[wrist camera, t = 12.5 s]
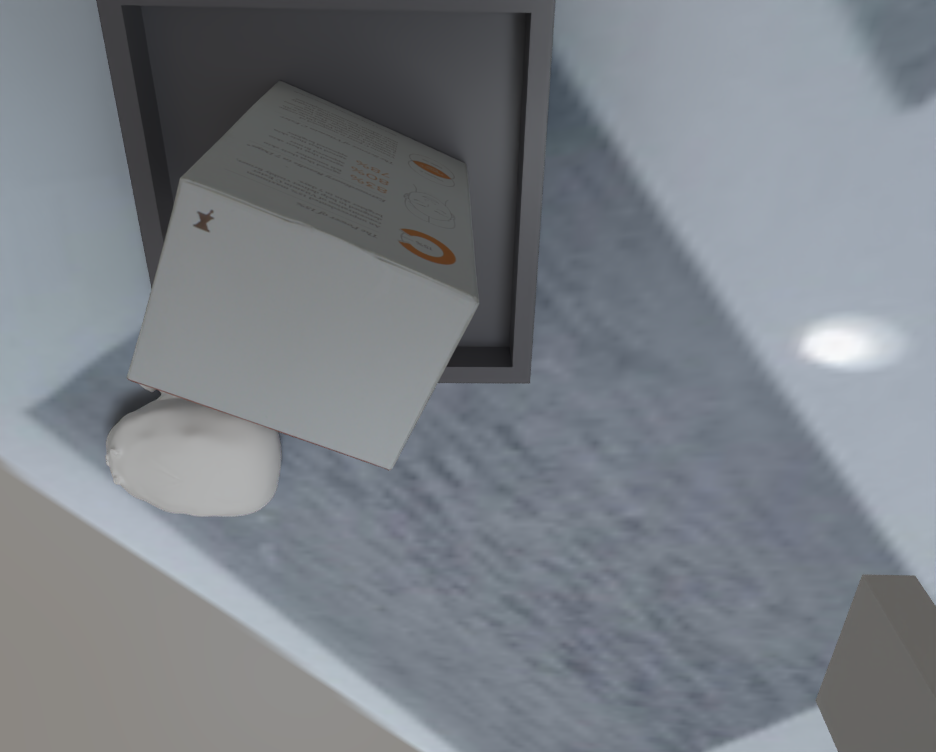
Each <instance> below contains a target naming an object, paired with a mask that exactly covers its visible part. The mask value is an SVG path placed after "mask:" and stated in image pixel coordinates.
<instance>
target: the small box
mask: <svg viewBox="0 0 936 752" xmlns="http://www.w3.org/2000/svg"><path fill="white" fill-rule="evenodd" d="M478 305H479V295H478V288H477V277H476V268H475V254H474V241H473V230H472V220H471V205H470V193H469V182H468V173H467V166H466V164H465V163H463V162H461V161H459V160H457V159H454V158H452V157H450V156H448V155H446V154H444V153H441V152H439V151H437V150H435V149H433V148H430V147H428V146H426V145H424V144H422V143H420V142H417V141H415V140H413V139H411V138H409V137H406V136H404V135H402V134H400V133H398V132H395V131H393V130H391V129H389V128H386V127H384V126H382V125H380V124H377V123H375V122H373V121H371V120H368V119H366V118H364V117H362V116H359V115H357V114H355V113H353V112H351V111H348V110H346V109H344V108H342V107H339V106H337V105H335V104H333V103H330V102H328V101H326V100H324V99H321V98H319V97H317V96H315V95H312V94H310V93H308V92H305V91H303V90H301V89H298V88H296V87H294V86H291V85H289V84H287V83H285V82H282V81H278V82H277V83H276V84H275V85H274V86H273V87H272V88H271V89H270V90H269V91H268V92H267V93H266V94H264V95H263V96H262V97H261V98H260V99H259V100H258V101H257V102H256V103H255V104H254V105H253V106H252V107H251V108H250V109H249V110H248V111H247V112H246V113H245V114H244V115H243V116H242V117H241V118H240V119H239V120H238V121H237V122H236V123H235V124H234V125H233V126H232V127H231V128H230V129H229V130H228V131H227V132H226V133H225V134H224V135H223V136H222V137H221V138H220V139H219V140H218V141H217V142H216V143H215V144H214V145H213V146H212V147H211V148H210V149H209V150H208V151H207V152H206V153H205V154H204V155H203V156H202V157H201V158H200V159H199V160H198V161H197V162H196V163H195V164H194V165H193V166H192V167H191V168H190V169H189V170H188V171H187V172H186V173H185V174H184V175H183V176H182V177H181V178H180V180H179V184H178V189H177V193H176V197H175V201H174V206H173V210H172V214H171V217H170V221H169V225H168V229H167V233H166V236H165V240H164V244H163V248H162V252H161V255H160V259H159V263H158V267H157V271H156V274H155V278H154V282H153V286H152V289H151V293H150V297H149V301H148V305H147V308H146V312H145V316H144V319H143V323H142V327H141V330H140V334H139V337H138V341H137V344H136V347H135V351H134V355H133V359H132V362H131V365H130V368H129V372H128V375H127V379H128V380H130V381H132V382H135V383H138V384H141V385H144V386H147V387H150V388H153V389H156V390H159V391H162V392H165V393H168V394H171V395H173V396H176V397H179V398H182V399H185V400H188V401H191V402H194V403H197V404H200V405H202V406H205V407H208V408H211V409H214V410H217V411H220V412H223V413H226V414H229V415H232V416H235V417H237V418H240V419H243V420H246V421H249V422H252V423H255V424H258V425H261V426H263V427H266V428H269V429H272V430H275V431H278V432H281V433H284V434H286V435H289V436H292V437H295V438H298V439H301V440H304V441H307V442H310V443H313V444H316V445H319V446H321V447H324V448H327V449H330V450H333V451H336V452H339V453H342V454H344V455H347V456H350V457H353V458H356V459H359V460H361V461H364V462H367V463H370V464H373V465H376V466H379V467H382V468H384V469H387V470H391V469H392V468H393V466H394V465H395V463H396V461H397V459H398V457H399V455H400V453H401V452H402V450H403V448H404V446H405V444H406V442H407V440H408V438H409V436H410V434H411V433H412V431H413V429H414V427H415V425H416V423H417V421H418V419H419V417H420V416H421V414H422V412H423V410H424V408H425V406H426V404H427V402H428V400H429V398H430V397H431V395H432V393H433V391H434V389H435V387H436V385H437V383H438V381H439V379H440V377H441V376H442V374H443V372H444V370H445V368H446V366H447V364H448V362H449V360H450V358H451V357H452V355H453V353H454V351H455V349H456V347H457V345H458V343H459V341H460V340H461V338H462V336H463V334H464V332H465V330H466V328H467V326H468V325H469V323H470V321H471V319H472V317H473V315H474V313H475V311H476V309H477V307H478Z"/></svg>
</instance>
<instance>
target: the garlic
mask: <svg viewBox="0 0 936 752" xmlns="http://www.w3.org/2000/svg"><path fill="white" fill-rule="evenodd" d="M140 386H142V387H143V388H144V389H146V390H149V391H151V392H154V391H155V390H156V389H153V388H150V387H147V386H144V385H141V384H140ZM160 392H161V396H160V397H159V398H158V399H157V400H155V401H152V402H150V403H149V404H147V405H145V406H143V407H141V408H140V409H138V410H136V411H134V412H131V413H128V414H127V415H125V416H124V417H123V418H122V419H121V420H120V421H119V422H118V423H117V424H116V425H115V426H114V427H113V428H112V429H111V431H110V432H109V434H108V437H107V441H106V449H107V455H106V460H107V461H106V464H107V465H108V466H110V470H111V473H112V476H113V481H114V483H115V484H116V485H121V486H122V487H123V488H124V489H125V490H126V491H127V492H128V493H129V494H131V495H132V496H133V497H135V498H138V499H141V500H143V501H146V502H148V503H150V504H152V505H153V506H155V507H157V508H159V509H161V510H164V511H166V512H170V513H183V514H189V515H193V516H201V517H205V516H224V517H234V516H242V515H247V514H250V513H253V512H256V511H258V510H260V509H261V508H263V507H264V506H265V505H266V504H267V503H268V502H269V501H270V500H271V499H272V498H273V496H274V495H275V493H276V490H277V486H278V480H279V475H280V468H281V443H280V438H279V434H278V431H275V430H272V429H269V428H266V427H263V426H261V425H258V424H255V423H252V422H249V421H246V420H243V419H240V418H237V417H235V416H232V415H229V414H226V413H223V412H220V411H217V410H214V409H211V408H208V407H205V406H202V405H200V404H197V403H194V402H191V401H188V400H185V399H182V398H179V397H176V396H173V395H171V394H168V393H165V392H162V391H160Z"/></svg>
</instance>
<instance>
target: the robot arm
mask: <svg viewBox="0 0 936 752" xmlns="http://www.w3.org/2000/svg"><path fill="white" fill-rule="evenodd" d="M816 702H817V705H818V707H819V709H820V711H821V714H822V716H823V718H824V721H825V723H826V725H827V727H828V730H829V732H830V734H831V736H832V739H833V741H834V743H835V746H836V748H837V750H838V752H936V606H935V605H934V603H933V602H932V600H931V599H930V597H929V596H928V594H927V593H926V591H925V590H924V588H923V587H922V585H921V584H920V582H919V581H918V579H917V578H916V576H907V575H862V577H861V580H860V583H859V585H858V588H857V591H856V593H855V596H854V599H853V601H852V604H851V607H850V610H849V612H848V615H847V618H846V620H845V623H844V626H843V628H842V631H841V634H840V636H839V639H838V642H837V645H836V647H835V650H834V653H833V655H832V658H831V661H830V663H829V666H828V669H827V671H826V674H825V677H824V679H823V682H822V685H821V688H820V690H819V693H818V696H817V698H816Z"/></svg>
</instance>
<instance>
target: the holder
mask: <svg viewBox="0 0 936 752" xmlns="http://www.w3.org/2000/svg"><path fill="white" fill-rule="evenodd" d="M96 1H97V6H98V12H99V17H100V22H101V27H102V32H103V38H104V43H105V48H106V53H107V58H108V64H109V69H110V74H111V79H112V85H113V90H114V95H115V100H116V105H117V111H118V116H119V121H120V126H121V131H122V137H123V142H124V147H125V152H126V157H127V163H128V168H129V173H130V178H131V183H132V189H133V194H134V199H135V204H136V210H137V215H138V220H139V225H140V230H141V236H142V241H143V246H144V251H145V256H146V262H147V267H148V272H149V277H150V282H151V288H152V286H153V282H154V278H155V274H156V271H157V267H158V263H159V259H160V255H161V252H162V248H163V244H164V240H165V236H166V233H167V229H168V225H169V221H170V217H171V214H172V210H173V206H174V201H175V197H176V193H177V189H178V184H179V180H180V178H181V177H182V176H183V175H184V174H185V173H186V172H187V171H188V170H189V169H190V168H191V167H192V166H193V165H194V164H195V163H196V162H197V161H198V160H199V159H200V158H201V157H202V156H203V155H204V154H205V153H206V152H207V151H208V150H209V149H210V148H211V147H212V146H213V145H214V144H215V143H216V142H217V141H218V140H219V139H220V138H221V137H222V136H223V135H224V134H225V133H226V132H227V131H228V130H229V129H230V128H231V127H232V126H233V125H234V124H235V123H236V122H237V121H238V120H239V119H240V118H241V117H242V116H243V115H244V114H245V113H246V112H247V111H248V110H249V109H250V108H251V107H252V106H253V105H254V104H255V103H256V102H257V101H258V100H259V99H260V98H261V97H262V96H263V95H264V94H266V93H267V92H268V91H269V90H270V89H271V88H272V87H273V86H274V85H275V84H276V83H277V82H278V81H282V82H285V83H287V84H289V85H291V86H294V87H296V88H298V89H301V90H303V91H305V92H308V93H310V94H312V95H315V96H317V97H319V98H321V99H324V100H326V101H328V102H330V103H333V104H335V105H337V106H339V107H342V108H344V109H346V110H348V111H351V112H353V113H355V114H357V115H359V116H362V117H364V118H366V119H368V120H371V121H373V122H375V123H377V124H380V125H382V126H384V127H386V128H389V129H391V130H393V131H395V132H398V133H400V134H402V135H404V136H406V137H409V138H411V139H413V140H415V141H417V142H420V143H422V144H424V145H426V146H428V147H430V148H433V149H435V150H437V151H439V152H441V153H444V154H446V155H448V156H450V157H452V158H454V159H457V160H459V161H461V162H463V163H465V164H466V166H467V173H468V182H469V193H470V205H471V220H472V230H473V241H474V254H475V268H476V277H477V288H478V295H479V305H478V307H477V309H476V311H475V313H474V315H473V317H472V319H471V321H470V323H469V325H468V326H467V328H466V330H465V332H464V334H463V336H462V338H461V340H460V341H459V343H458V345H457V347H456V349H455V351H454V353H453V355H452V357H451V358H450V360H449V362H448V364H447V366H446V368H445V370H444V372H443V374H442V376H441V377H440V379H439V381H438V383H530V374H531V359H532V344H533V329H534V314H535V299H536V284H537V269H538V254H539V239H540V224H541V209H542V194H543V179H544V164H545V149H546V134H547V119H548V103H549V88H550V73H551V58H552V43H553V28H554V13H555V0H96Z"/></svg>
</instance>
